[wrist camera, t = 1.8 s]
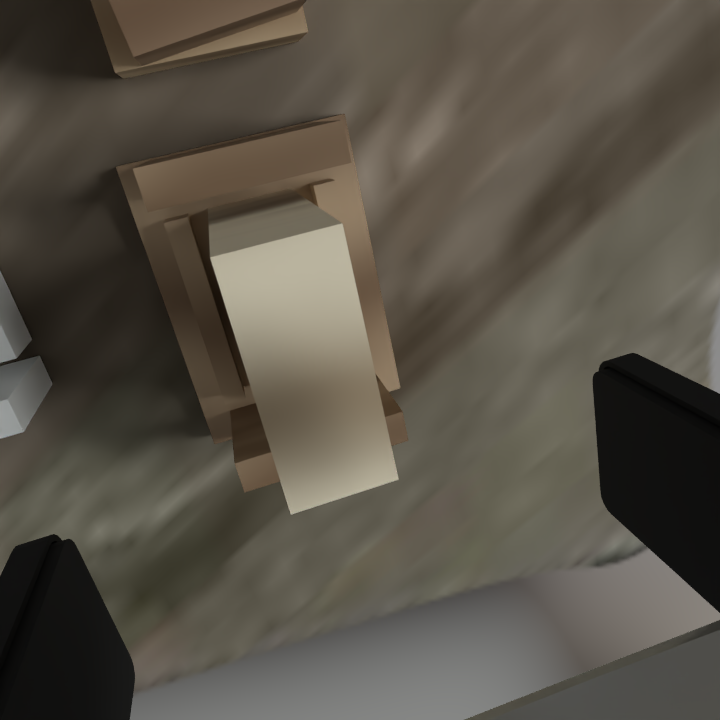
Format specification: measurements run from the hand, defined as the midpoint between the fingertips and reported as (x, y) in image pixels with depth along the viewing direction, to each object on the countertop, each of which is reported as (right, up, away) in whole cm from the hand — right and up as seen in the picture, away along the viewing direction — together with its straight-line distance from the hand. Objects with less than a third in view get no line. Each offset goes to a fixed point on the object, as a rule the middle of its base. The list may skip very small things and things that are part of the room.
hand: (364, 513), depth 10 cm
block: (-3, +5, +12) cm, 14 cm away
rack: (-4, +6, +13) cm, 15 cm away
